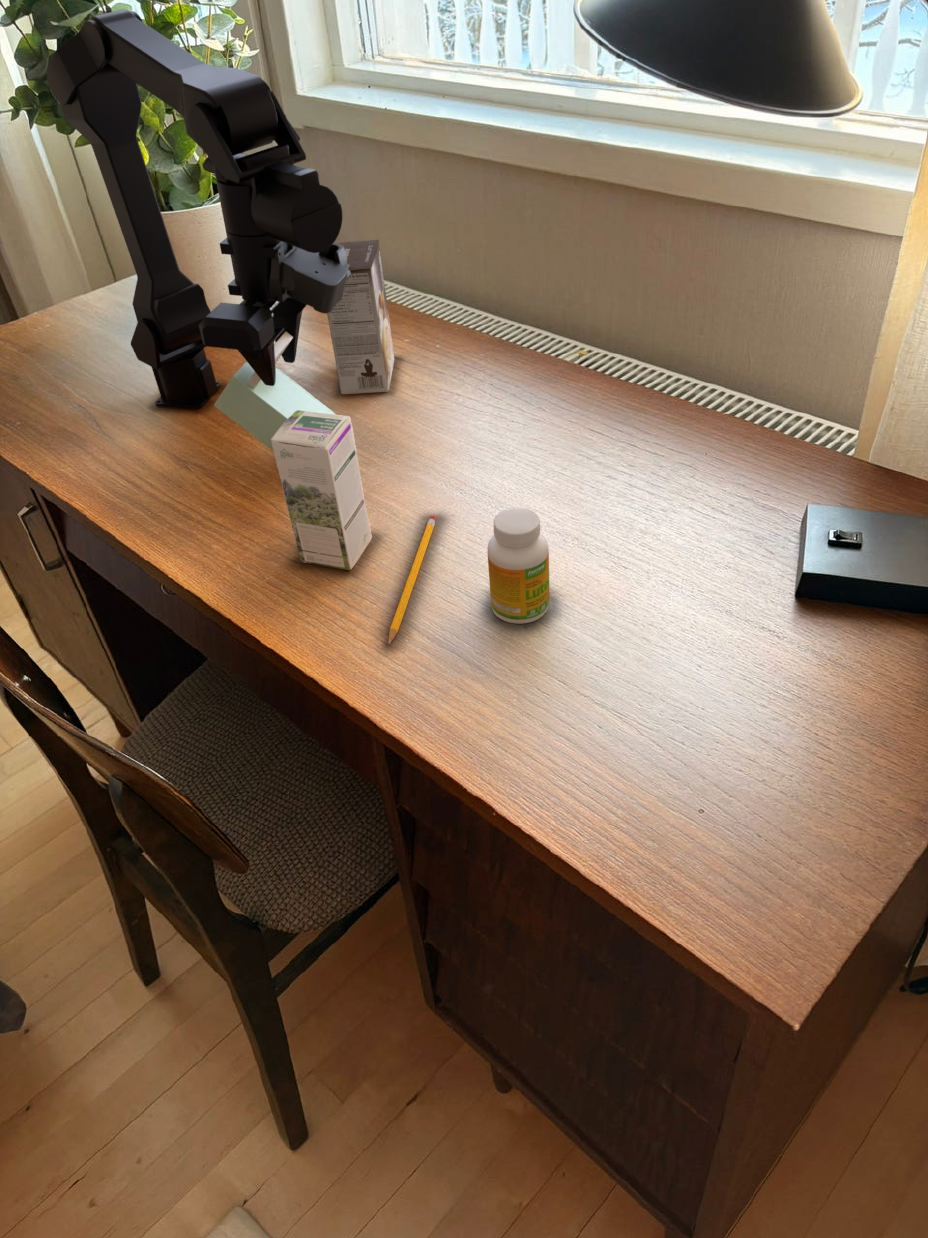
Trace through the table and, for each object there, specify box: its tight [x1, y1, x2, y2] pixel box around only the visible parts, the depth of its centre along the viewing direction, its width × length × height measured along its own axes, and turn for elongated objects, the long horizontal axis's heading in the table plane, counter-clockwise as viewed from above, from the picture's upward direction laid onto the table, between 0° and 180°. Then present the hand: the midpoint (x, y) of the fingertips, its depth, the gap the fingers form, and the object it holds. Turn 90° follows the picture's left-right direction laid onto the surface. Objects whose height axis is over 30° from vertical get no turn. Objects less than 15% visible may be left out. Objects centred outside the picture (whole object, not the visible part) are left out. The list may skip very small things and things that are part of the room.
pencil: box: [388, 515, 438, 645], centre depth 91 cm, size 1×19×1 cm, turn 169°
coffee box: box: [326, 239, 395, 395], centre depth 117 cm, size 9×6×16 cm
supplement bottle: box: [487, 507, 550, 625], centre depth 84 cm, size 5×5×10 cm
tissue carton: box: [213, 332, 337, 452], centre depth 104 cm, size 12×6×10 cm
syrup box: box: [271, 410, 373, 571], centre depth 90 cm, size 6×6×14 cm
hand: (280, 373), depth 102 cm, fingers closed on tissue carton, 5 cm apart
